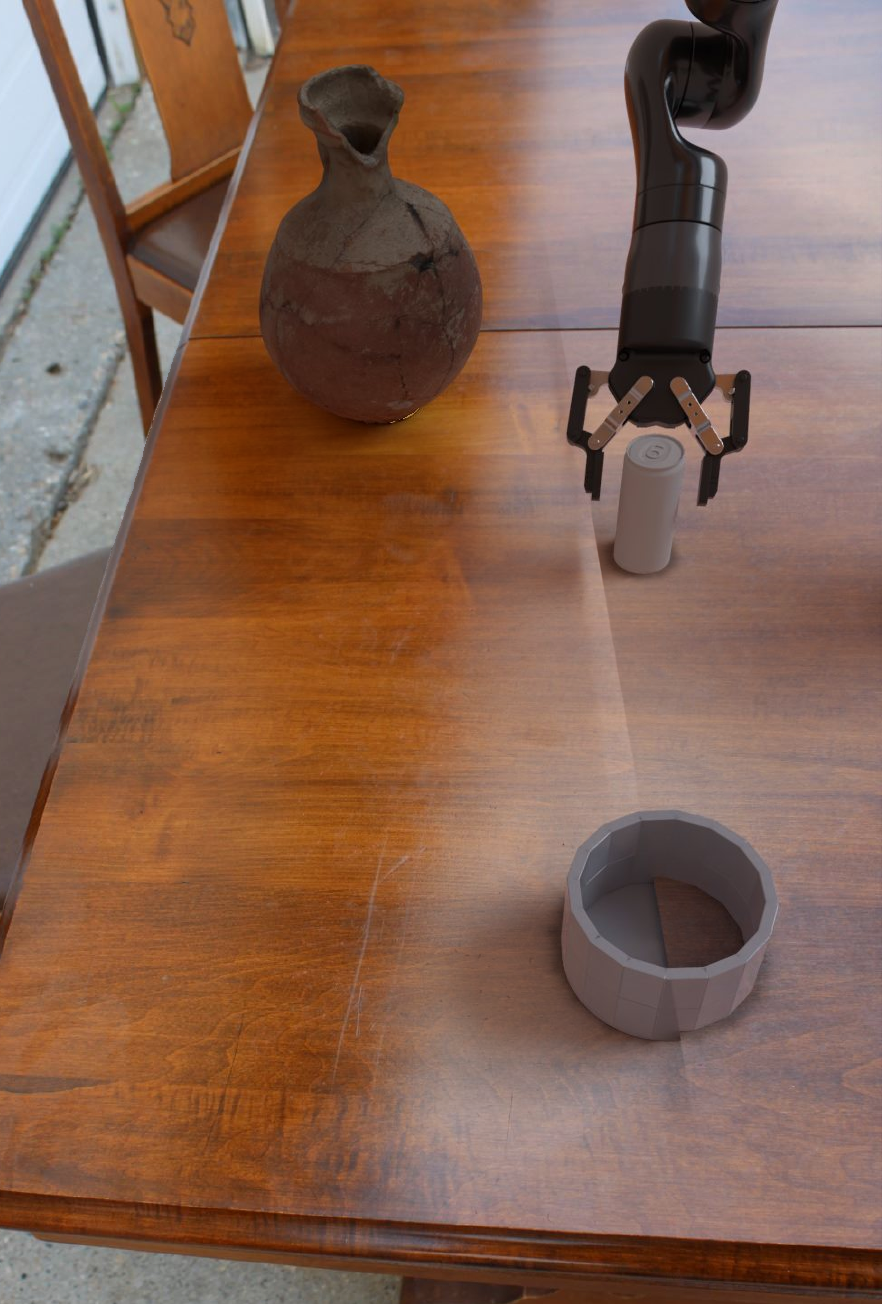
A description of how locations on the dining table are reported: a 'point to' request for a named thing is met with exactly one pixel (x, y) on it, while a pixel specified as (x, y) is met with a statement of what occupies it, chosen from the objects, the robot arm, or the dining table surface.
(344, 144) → the jug
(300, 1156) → the dining table surface
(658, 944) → the pot
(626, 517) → the beverage can
